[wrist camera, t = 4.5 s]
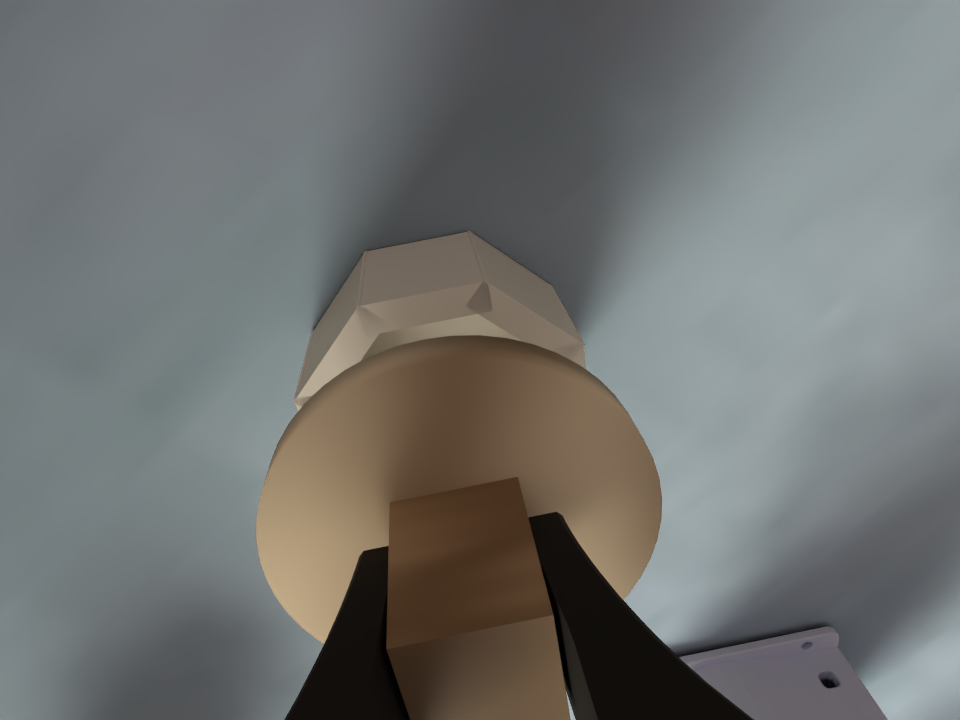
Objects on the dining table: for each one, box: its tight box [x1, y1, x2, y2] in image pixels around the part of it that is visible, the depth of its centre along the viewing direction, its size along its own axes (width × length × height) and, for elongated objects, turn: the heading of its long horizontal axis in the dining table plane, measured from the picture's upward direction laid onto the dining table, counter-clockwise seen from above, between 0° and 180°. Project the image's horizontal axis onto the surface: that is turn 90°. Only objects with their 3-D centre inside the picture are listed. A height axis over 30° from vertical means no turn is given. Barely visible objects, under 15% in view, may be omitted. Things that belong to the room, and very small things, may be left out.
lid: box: [256, 335, 662, 720], centre depth 13 cm, size 8×8×4 cm
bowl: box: [294, 231, 586, 411], centre depth 19 cm, size 8×8×4 cm
